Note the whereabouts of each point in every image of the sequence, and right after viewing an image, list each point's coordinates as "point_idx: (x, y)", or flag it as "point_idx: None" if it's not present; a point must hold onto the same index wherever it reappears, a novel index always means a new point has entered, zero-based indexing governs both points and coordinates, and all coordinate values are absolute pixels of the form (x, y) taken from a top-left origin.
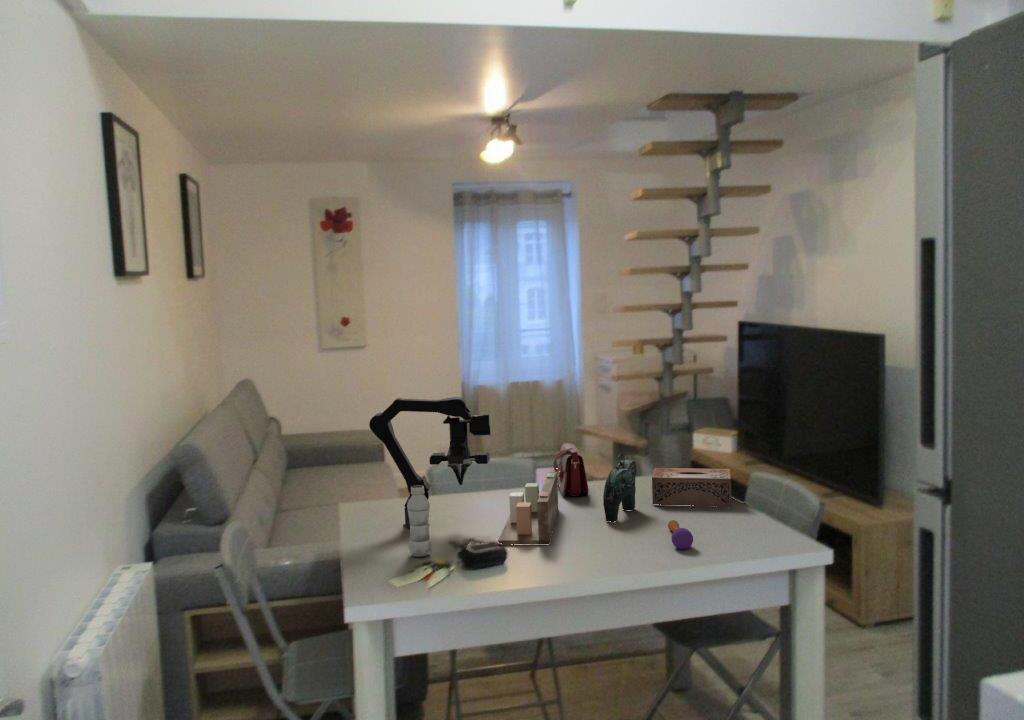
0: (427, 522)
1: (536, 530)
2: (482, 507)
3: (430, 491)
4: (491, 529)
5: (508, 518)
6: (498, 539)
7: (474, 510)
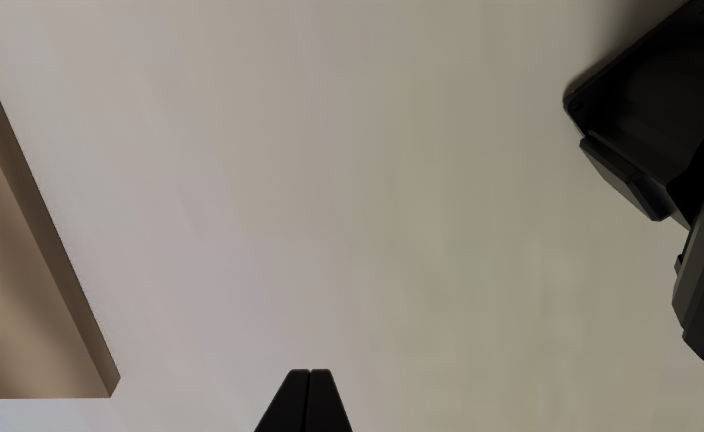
0: None
1: None
2: None
3: (689, 335)
4: (76, 20)
5: (7, 186)
6: None
7: None
